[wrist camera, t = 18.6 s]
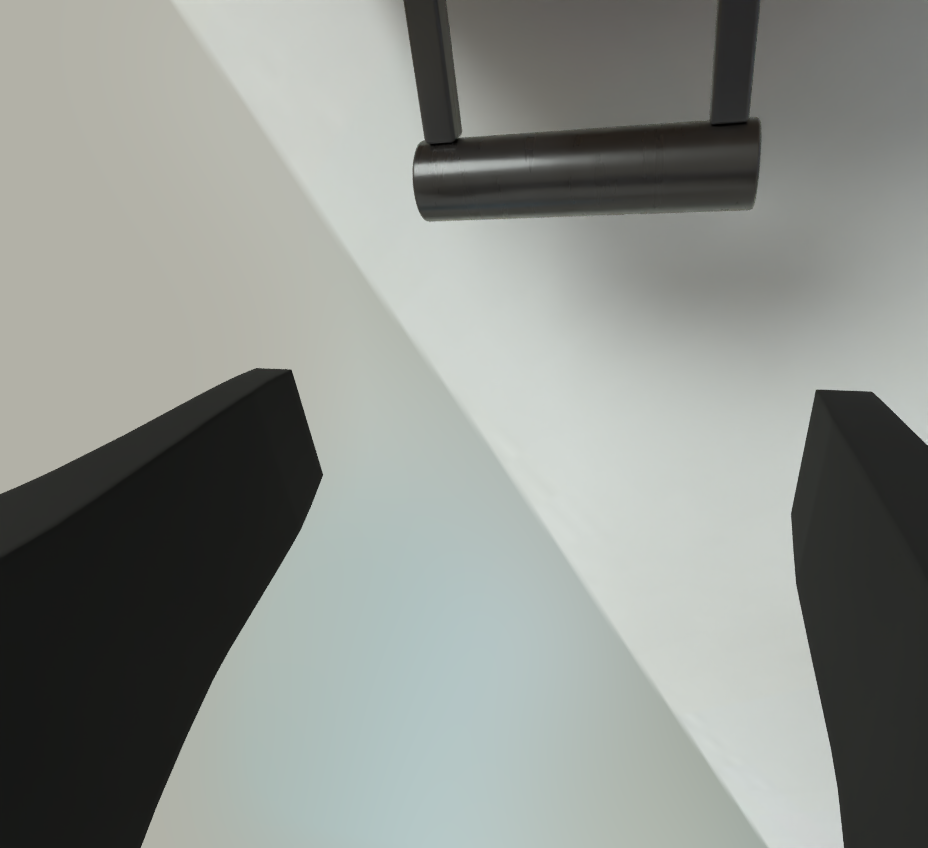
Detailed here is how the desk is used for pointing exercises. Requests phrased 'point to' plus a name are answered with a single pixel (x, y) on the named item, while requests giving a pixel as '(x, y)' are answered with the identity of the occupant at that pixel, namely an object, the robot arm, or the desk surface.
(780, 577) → the desk surface
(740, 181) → the drawer
